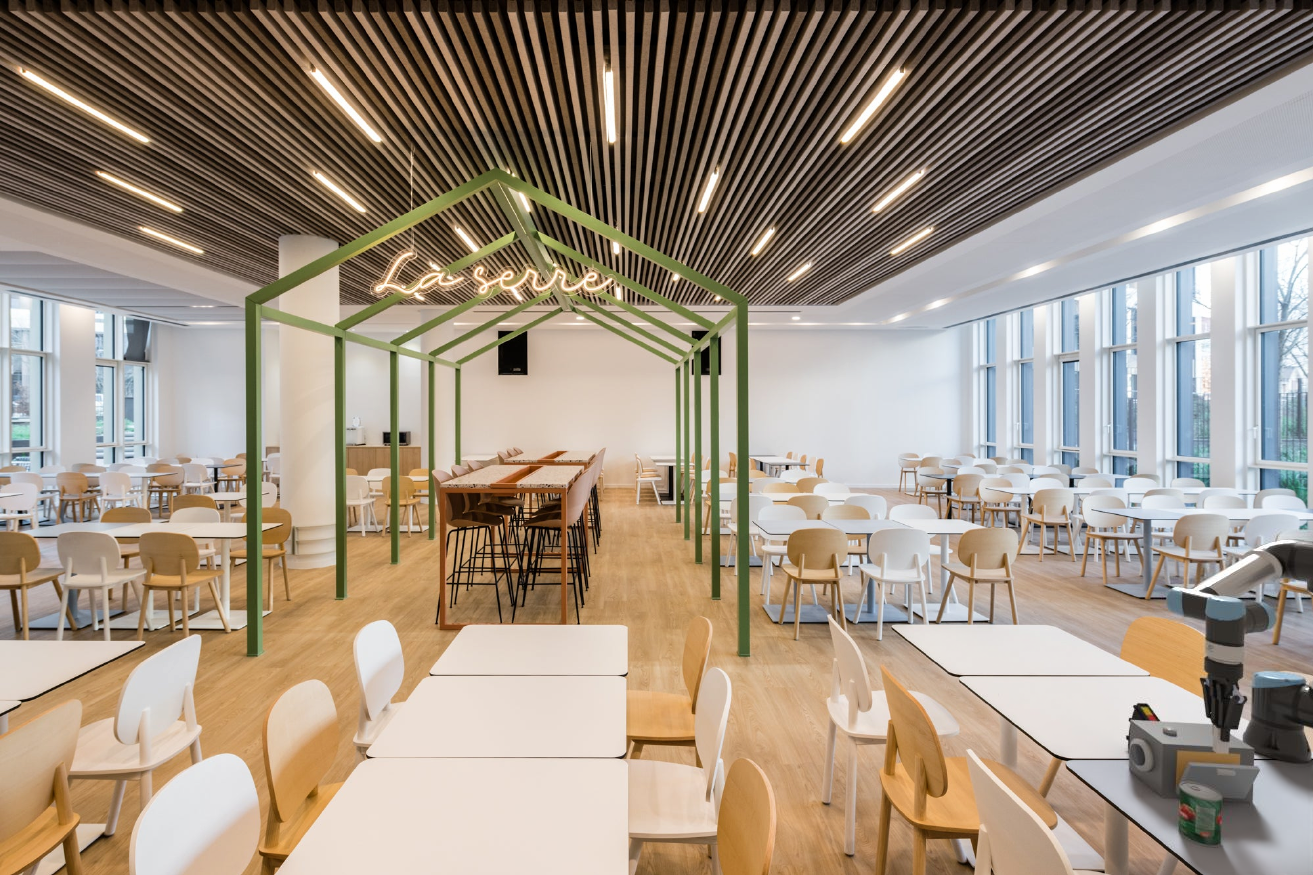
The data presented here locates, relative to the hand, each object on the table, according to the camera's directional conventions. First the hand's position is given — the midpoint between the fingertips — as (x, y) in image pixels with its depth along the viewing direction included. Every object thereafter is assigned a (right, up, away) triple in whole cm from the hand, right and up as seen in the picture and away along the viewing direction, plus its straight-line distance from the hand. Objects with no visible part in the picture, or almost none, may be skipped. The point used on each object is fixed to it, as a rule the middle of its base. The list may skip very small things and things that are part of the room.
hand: (1220, 751), depth 168 cm
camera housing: (0, -14, +12) cm, 18 cm away
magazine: (0, -14, +26) cm, 30 cm away
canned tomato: (-14, -15, -11) cm, 23 cm away
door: (0, -13, +4) cm, 13 cm away
